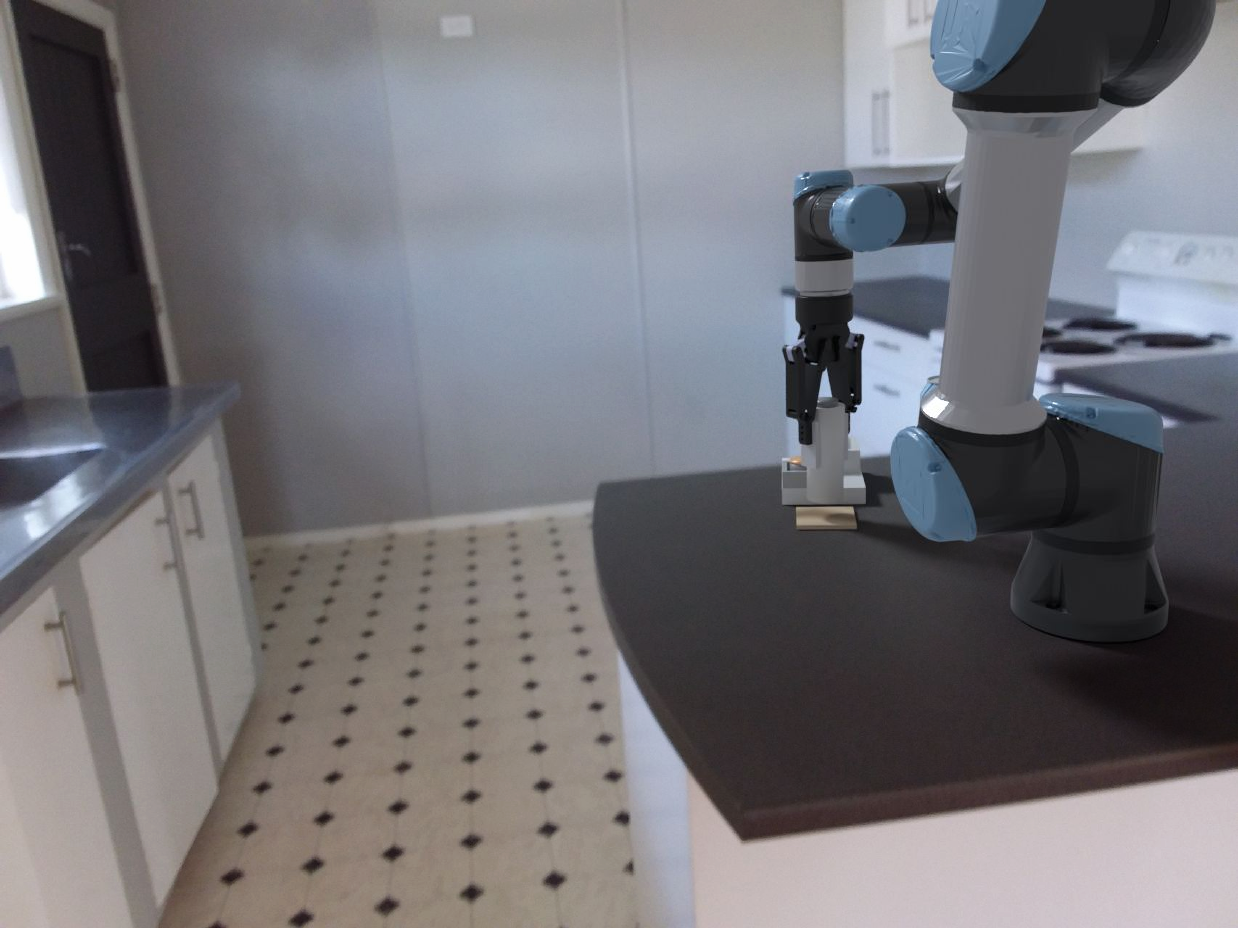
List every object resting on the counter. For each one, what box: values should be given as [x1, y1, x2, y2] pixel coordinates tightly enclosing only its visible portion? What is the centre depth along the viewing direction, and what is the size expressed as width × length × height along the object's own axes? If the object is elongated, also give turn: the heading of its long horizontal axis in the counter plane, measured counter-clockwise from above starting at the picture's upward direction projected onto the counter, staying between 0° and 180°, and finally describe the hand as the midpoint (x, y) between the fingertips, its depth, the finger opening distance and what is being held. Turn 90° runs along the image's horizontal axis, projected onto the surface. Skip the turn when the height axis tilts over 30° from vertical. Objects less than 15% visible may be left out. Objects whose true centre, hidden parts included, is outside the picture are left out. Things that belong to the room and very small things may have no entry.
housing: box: [781, 436, 867, 506], centre depth 154 cm, size 17×12×6 cm
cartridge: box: [807, 396, 845, 505], centre depth 138 cm, size 5×5×14 cm
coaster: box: [795, 506, 858, 531], centre depth 140 cm, size 8×8×1 cm
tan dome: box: [789, 455, 807, 471], centre depth 150 cm, size 4×4×3 cm
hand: (824, 462), depth 138 cm, fingers closed on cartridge, 5 cm apart
